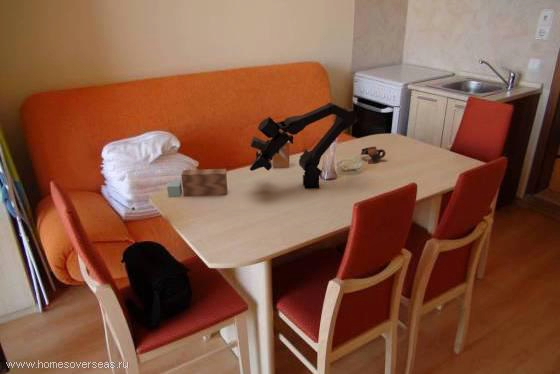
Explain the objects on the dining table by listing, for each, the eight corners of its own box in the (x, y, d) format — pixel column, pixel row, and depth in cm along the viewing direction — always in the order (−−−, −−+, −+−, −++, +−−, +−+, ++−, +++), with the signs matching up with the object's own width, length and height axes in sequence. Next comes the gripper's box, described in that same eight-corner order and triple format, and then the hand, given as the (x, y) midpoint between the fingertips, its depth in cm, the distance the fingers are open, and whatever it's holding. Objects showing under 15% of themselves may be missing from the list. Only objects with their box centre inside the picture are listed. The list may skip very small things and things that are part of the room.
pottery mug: (362, 165, 213) (359, 148, 213) (363, 166, 222) (360, 150, 223) (387, 160, 210) (383, 143, 211) (387, 161, 219) (384, 146, 220)
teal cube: (182, 192, 186) (181, 181, 184) (180, 197, 182) (179, 186, 180) (170, 192, 186) (169, 181, 184) (168, 197, 182) (167, 186, 179)
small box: (273, 168, 209) (272, 142, 203) (271, 163, 215) (271, 138, 209) (289, 167, 210) (289, 141, 204) (287, 162, 215) (287, 137, 210)
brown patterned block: (227, 190, 187) (226, 168, 183) (226, 195, 183) (225, 173, 179) (185, 191, 187) (183, 170, 182) (183, 196, 182) (181, 174, 178)
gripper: (261, 124, 183) (236, 150, 187) (261, 138, 166) (235, 166, 170) (280, 141, 187) (255, 166, 191) (282, 156, 170) (256, 183, 174)
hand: (250, 170), depth 181 cm, fingers closed
